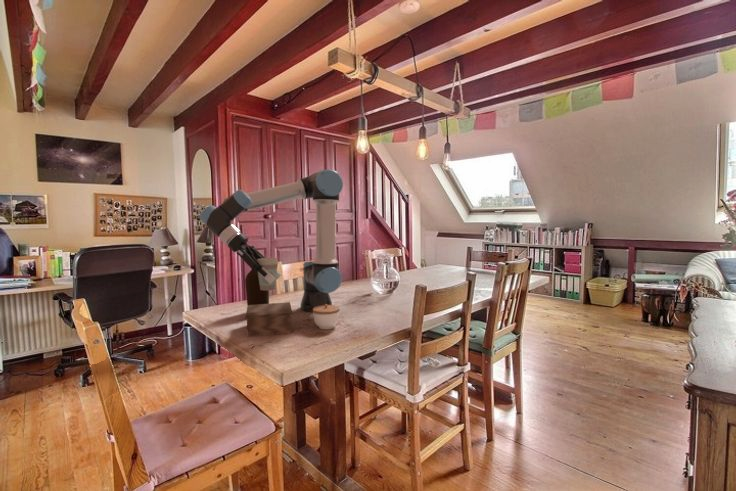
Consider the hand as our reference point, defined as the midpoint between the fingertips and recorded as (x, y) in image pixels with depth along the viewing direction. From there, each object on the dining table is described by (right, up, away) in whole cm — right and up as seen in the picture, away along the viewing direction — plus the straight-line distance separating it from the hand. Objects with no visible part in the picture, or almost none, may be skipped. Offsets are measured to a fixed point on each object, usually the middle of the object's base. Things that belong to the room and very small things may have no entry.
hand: (276, 279), depth 141 cm
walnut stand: (-3, -20, +2) cm, 20 cm away
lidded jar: (+20, -20, +3) cm, 28 cm away
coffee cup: (-3, -4, 0) cm, 5 cm away
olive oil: (-15, -18, +25) cm, 34 cm away
